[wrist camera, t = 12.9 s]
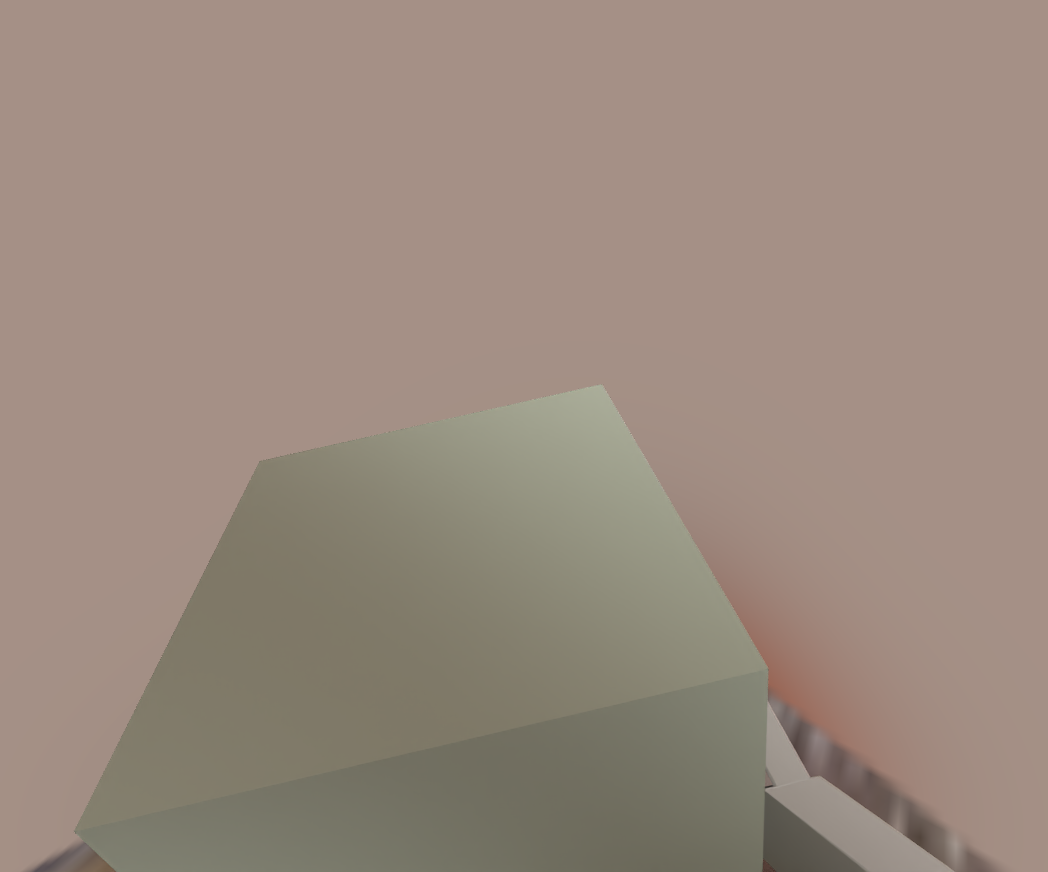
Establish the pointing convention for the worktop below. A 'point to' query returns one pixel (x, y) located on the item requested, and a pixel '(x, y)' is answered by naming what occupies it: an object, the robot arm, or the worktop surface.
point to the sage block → (449, 669)
